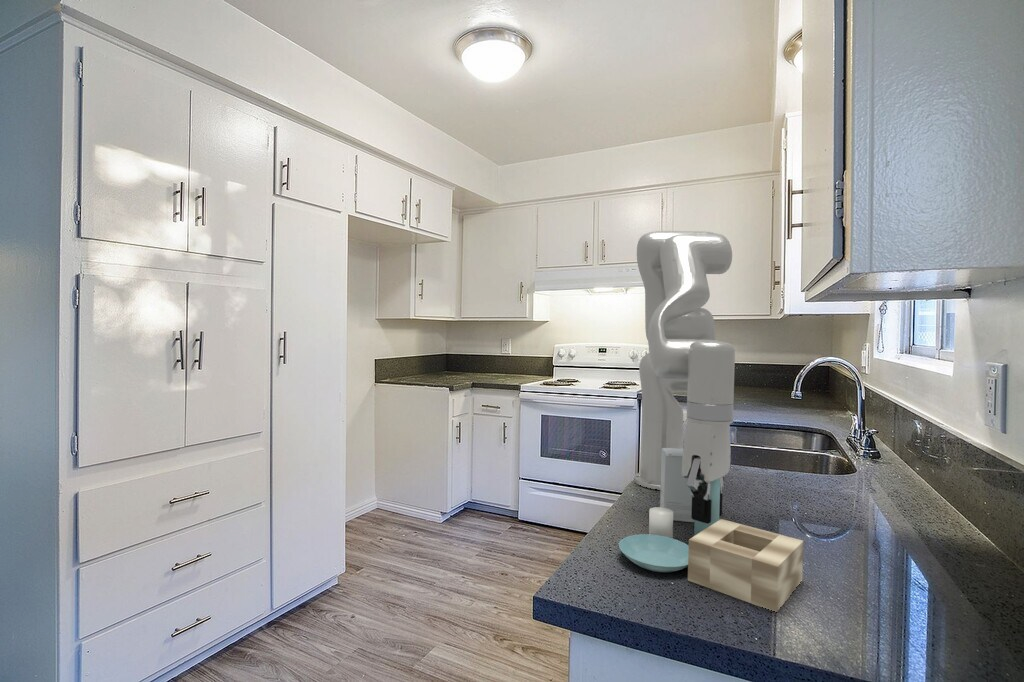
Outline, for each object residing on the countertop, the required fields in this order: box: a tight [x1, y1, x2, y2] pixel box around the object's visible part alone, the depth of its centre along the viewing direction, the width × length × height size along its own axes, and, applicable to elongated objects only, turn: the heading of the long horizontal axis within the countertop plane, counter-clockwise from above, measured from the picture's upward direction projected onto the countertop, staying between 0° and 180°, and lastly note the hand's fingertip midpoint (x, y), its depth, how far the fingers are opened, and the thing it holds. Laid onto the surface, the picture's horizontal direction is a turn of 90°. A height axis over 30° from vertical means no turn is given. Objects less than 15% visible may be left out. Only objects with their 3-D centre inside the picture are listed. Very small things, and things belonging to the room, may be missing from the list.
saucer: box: [618, 533, 689, 573], centre depth 81 cm, size 12×12×2 cm
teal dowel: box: [693, 476, 720, 537], centre depth 89 cm, size 4×4×14 cm
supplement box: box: [659, 448, 695, 523], centre depth 102 cm, size 7×7×13 cm
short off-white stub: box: [648, 506, 674, 539], centre depth 90 cm, size 4×4×5 cm
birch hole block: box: [687, 518, 804, 613], centre depth 75 cm, size 12×12×6 cm
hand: (706, 516), depth 89 cm, fingers closed on teal dowel, 4 cm apart
